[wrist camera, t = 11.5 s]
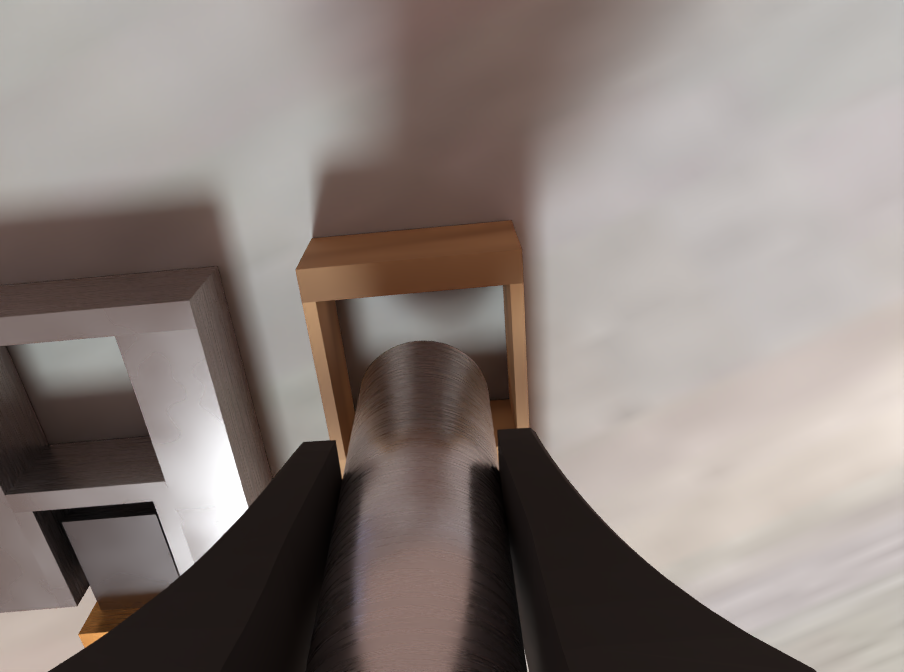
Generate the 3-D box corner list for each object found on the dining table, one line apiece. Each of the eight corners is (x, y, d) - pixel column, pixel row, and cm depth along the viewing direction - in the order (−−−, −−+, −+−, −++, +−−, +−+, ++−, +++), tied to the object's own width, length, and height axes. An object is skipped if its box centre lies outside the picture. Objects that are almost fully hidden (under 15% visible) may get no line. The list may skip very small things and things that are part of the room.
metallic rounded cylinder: (337, 366, 15) (226, 781, 7) (461, 322, 15) (493, 708, 7) (390, 466, 16) (348, 913, 8) (506, 427, 16) (578, 858, 8)
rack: (311, 238, 17) (278, 302, 13) (511, 220, 17) (532, 280, 13) (372, 563, 22) (360, 675, 18) (526, 551, 21) (545, 660, 18)
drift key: (81, 481, 20) (34, 544, 17) (188, 472, 20) (155, 534, 17) (128, 592, 22) (91, 662, 20) (225, 584, 22) (200, 653, 19)
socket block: (-93, 294, 17) (-162, 331, 15) (217, 266, 17) (189, 300, 15) (35, 556, 21) (-6, 613, 19) (286, 534, 21) (271, 590, 19)
